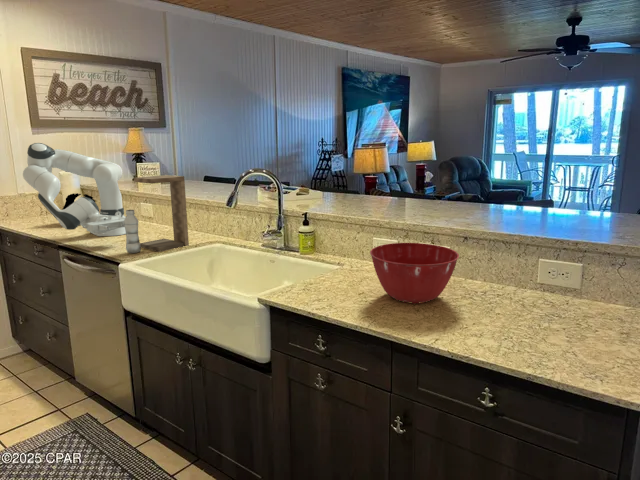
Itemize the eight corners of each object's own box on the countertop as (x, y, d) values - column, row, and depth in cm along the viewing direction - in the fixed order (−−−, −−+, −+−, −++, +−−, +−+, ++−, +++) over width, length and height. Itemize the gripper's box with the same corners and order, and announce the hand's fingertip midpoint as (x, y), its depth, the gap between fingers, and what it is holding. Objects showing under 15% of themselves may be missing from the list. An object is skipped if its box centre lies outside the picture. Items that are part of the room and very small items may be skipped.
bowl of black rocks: (62, 222, 308) (58, 192, 304) (96, 219, 318) (93, 190, 314) (66, 227, 291) (62, 196, 287) (102, 223, 302) (99, 193, 298)
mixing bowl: (469, 310, 150) (472, 261, 146) (378, 313, 148) (379, 264, 144) (440, 283, 177) (442, 241, 174) (363, 285, 175) (363, 243, 172)
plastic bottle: (144, 251, 229) (140, 209, 225) (134, 255, 223) (130, 211, 218) (133, 250, 231) (129, 208, 227) (123, 254, 225) (119, 211, 220)
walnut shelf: (137, 247, 237) (131, 177, 230) (169, 241, 251) (164, 174, 244) (157, 252, 227) (151, 179, 220) (188, 245, 241) (184, 176, 234)
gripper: (80, 220, 231) (95, 223, 223) (120, 214, 247) (135, 217, 239) (81, 233, 232) (96, 236, 224) (121, 226, 248) (136, 230, 240)
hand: (117, 226), depth 231 cm, fingers open, 8 cm apart
